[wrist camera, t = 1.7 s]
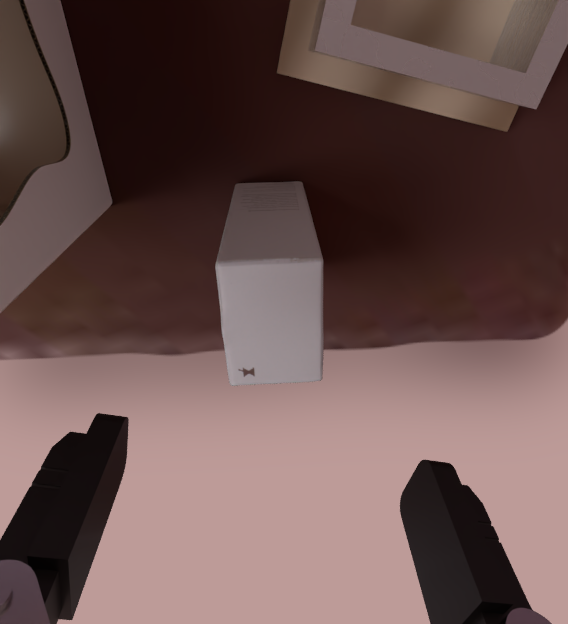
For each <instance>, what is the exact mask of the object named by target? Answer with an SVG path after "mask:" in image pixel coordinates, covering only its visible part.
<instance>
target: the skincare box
mask: <svg viewBox="0 0 568 624" xmlns="http://www.w3.org/2000/svg"><path fill="white" fill-rule="evenodd" d="M215 269H216V277H217V285H218V293H219V302H220V311H221V328H222V336H223V340H224V348H225V354H226V362H227V370H228V377H229V383H230V384H231V385H232V386H237V385H253V384H254V385H255V384H277V383H298V382H313V381H321V380H322V369H323V343H324V338H323V257H322V254H321V250H320V246H319V242H318V239H317V235H316V231H315V227H314V223H313V220H312V216H311V212H310V209H309V205H308V201H307V198H306V194H305V190H304V187H303V183H302V182H300V181H293V182H266V183H238V184H236V185H235V188H234V192H233V196H232V200H231V204H230V208H229V212H228V216H227V220H226V224H225V228H224V232H223V236H222V240H221V244H220V248H219V253H218V257H217V261H216V265H215Z"/></svg>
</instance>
